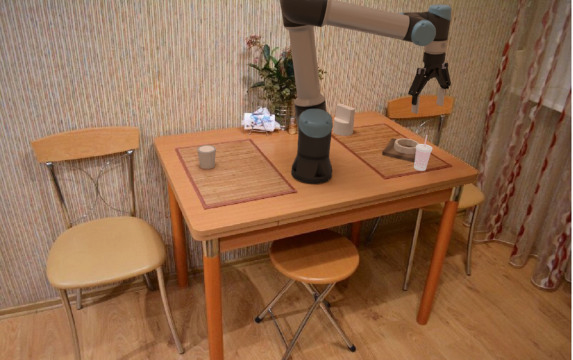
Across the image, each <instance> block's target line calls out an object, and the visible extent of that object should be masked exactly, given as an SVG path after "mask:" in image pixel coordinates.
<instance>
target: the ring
mask: <svg viewBox="0 0 573 360" xmlns="http://www.w3.org/2000/svg"><path fill="white" fill-rule="evenodd" d="M396 139H397V140H396V141H395V143H394V148H395V150H396V151H398V152H400V153H405V154H415V153H416V145H418V144H420V142H418V141H417V140H415V139H412V138H406V137H405V138H403V137H402V138H396ZM401 145H409V146H412V147H404V146H401Z"/></svg>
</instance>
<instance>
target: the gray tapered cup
mask: <svg viewBox="0 0 573 360" xmlns="http://www.w3.org/2000/svg"><path fill="white" fill-rule="evenodd" d="M196 151H197V158H198V162H199V167H200V168H201V169H203V170H211V169H213V168H215V167H216V166H215V165H216V155H217V154H216V151H217V148H216V146H214V145H212V144H211V145H210V144H202V145H200V146H198V147H197V149H196Z"/></svg>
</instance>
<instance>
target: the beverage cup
mask: <svg viewBox="0 0 573 360" xmlns="http://www.w3.org/2000/svg"><path fill="white" fill-rule="evenodd" d="M427 139H428V134H426V135H425V138H424V143H419V144H418V145H416V155H415V162H413V164H414V165H413V168H414V169H415V170H416V171H420V172H421V171H422V172H423V171H426V170H427V167H428V164H429V159H430V156H431V152H433V146H431V145H429V144H427Z"/></svg>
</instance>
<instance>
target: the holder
mask: <svg viewBox="0 0 573 360" xmlns="http://www.w3.org/2000/svg"><path fill="white" fill-rule="evenodd" d="M397 139H398V138H393V137H392V138H391V139H390V140H389V141H388V143H387V144H386V146H385V148H384V149H383V150H382V156H385V157H387V158H388V157H389V158H393V159H398V160H402V161H407V162H411V163H414V162H415V155H416V153H415V154H405V153H400V152H398V151H396V150H395V148H394V143H395V141H396V140H397ZM401 146H404V147H412V146H409V145H401Z"/></svg>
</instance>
